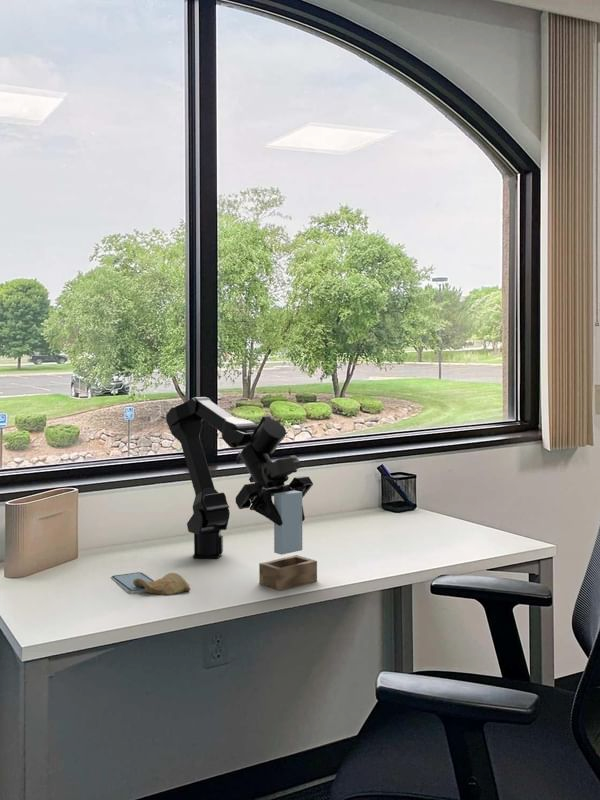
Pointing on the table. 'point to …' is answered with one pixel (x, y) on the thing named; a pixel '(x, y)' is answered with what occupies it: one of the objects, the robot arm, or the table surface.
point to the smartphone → (131, 582)
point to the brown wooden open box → (287, 572)
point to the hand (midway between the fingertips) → (292, 522)
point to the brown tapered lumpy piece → (164, 585)
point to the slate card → (288, 522)
